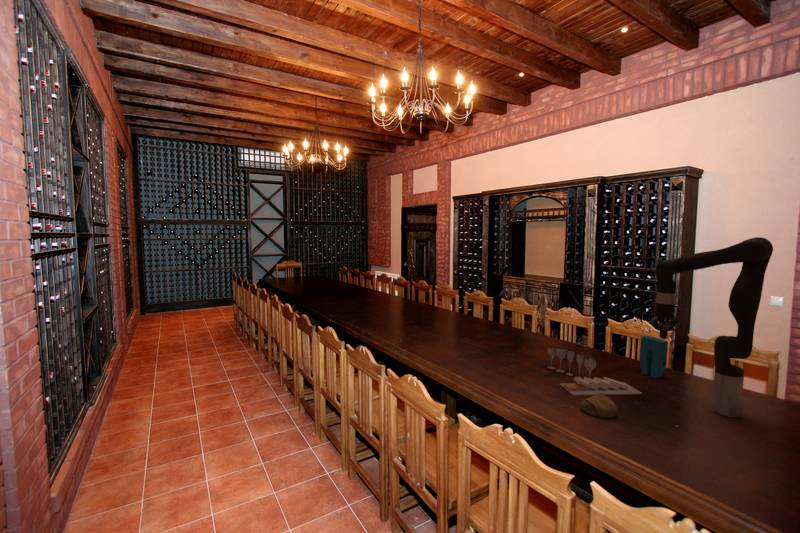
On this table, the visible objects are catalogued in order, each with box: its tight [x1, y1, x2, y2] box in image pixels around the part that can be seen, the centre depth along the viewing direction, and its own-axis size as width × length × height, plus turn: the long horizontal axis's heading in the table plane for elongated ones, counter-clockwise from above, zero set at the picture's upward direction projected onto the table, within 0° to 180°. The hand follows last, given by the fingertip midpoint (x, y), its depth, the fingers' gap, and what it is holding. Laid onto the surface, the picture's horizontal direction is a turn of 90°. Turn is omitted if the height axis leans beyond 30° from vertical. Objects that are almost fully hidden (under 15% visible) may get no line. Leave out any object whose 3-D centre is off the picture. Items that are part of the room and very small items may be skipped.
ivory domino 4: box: [603, 376, 629, 390], centre depth 184 cm, size 5×2×10 cm
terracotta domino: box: [563, 382, 589, 392], centre depth 183 cm, size 5×2×10 cm
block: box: [639, 335, 669, 379], centre depth 202 cm, size 12×5×20 cm, turn 21°
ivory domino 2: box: [582, 376, 609, 390], centre depth 183 cm, size 5×2×10 cm
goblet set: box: [547, 345, 597, 380], centre depth 202 cm, size 28×6×13 cm, turn 31°
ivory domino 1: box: [573, 376, 599, 390], centre depth 183 cm, size 5×2×10 cm
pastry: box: [579, 393, 619, 419], centre depth 160 cm, size 14×12×8 cm
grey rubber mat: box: [559, 381, 643, 397], centre depth 184 cm, size 13×34×1 cm, turn 94°
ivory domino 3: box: [593, 376, 619, 390], centre depth 184 cm, size 5×2×10 cm
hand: (663, 338), depth 177 cm, fingers closed
